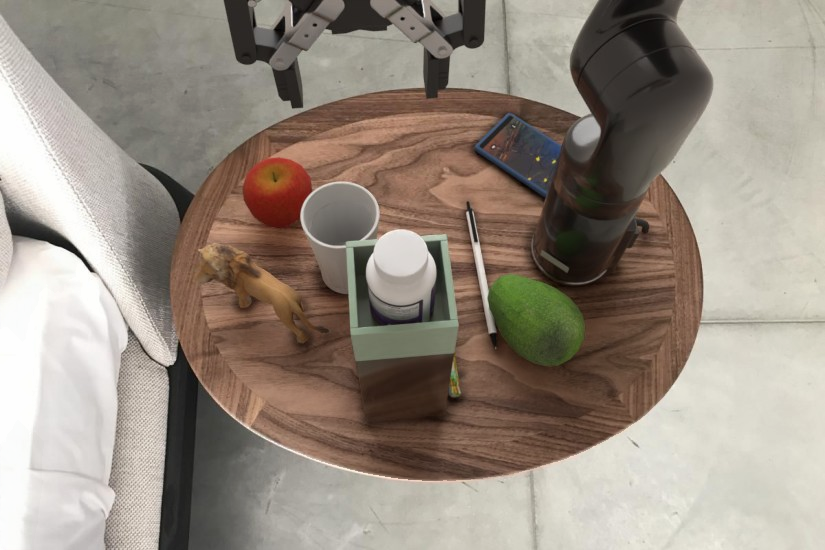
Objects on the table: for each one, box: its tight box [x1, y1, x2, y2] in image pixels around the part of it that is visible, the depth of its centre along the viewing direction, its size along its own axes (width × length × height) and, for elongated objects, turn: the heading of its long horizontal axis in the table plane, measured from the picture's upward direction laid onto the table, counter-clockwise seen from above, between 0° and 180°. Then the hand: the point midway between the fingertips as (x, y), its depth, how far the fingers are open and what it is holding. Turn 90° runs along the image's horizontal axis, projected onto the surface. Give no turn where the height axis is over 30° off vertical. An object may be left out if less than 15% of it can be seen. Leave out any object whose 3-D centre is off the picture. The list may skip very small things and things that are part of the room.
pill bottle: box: [366, 228, 437, 326], centre depth 56 cm, size 5×5×10 cm
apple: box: [242, 156, 313, 230], centre depth 83 cm, size 8×8×8 cm
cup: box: [299, 181, 380, 295], centre depth 78 cm, size 8×8×12 cm
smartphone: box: [473, 112, 562, 199], centre depth 90 cm, size 8×1×15 cm
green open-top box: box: [346, 233, 460, 423], centre depth 67 cm, size 8×8×24 cm
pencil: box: [448, 352, 462, 398], centre depth 80 cm, size 1×1×18 cm
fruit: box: [487, 273, 586, 367], centre depth 76 cm, size 8×8×12 cm
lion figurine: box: [194, 242, 330, 344], centre depth 77 cm, size 15×5×9 cm, turn 66°
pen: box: [465, 200, 498, 350], centre depth 82 cm, size 1×19×1 cm, turn 7°
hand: (364, 93), depth 46 cm, fingers open, 8 cm apart
